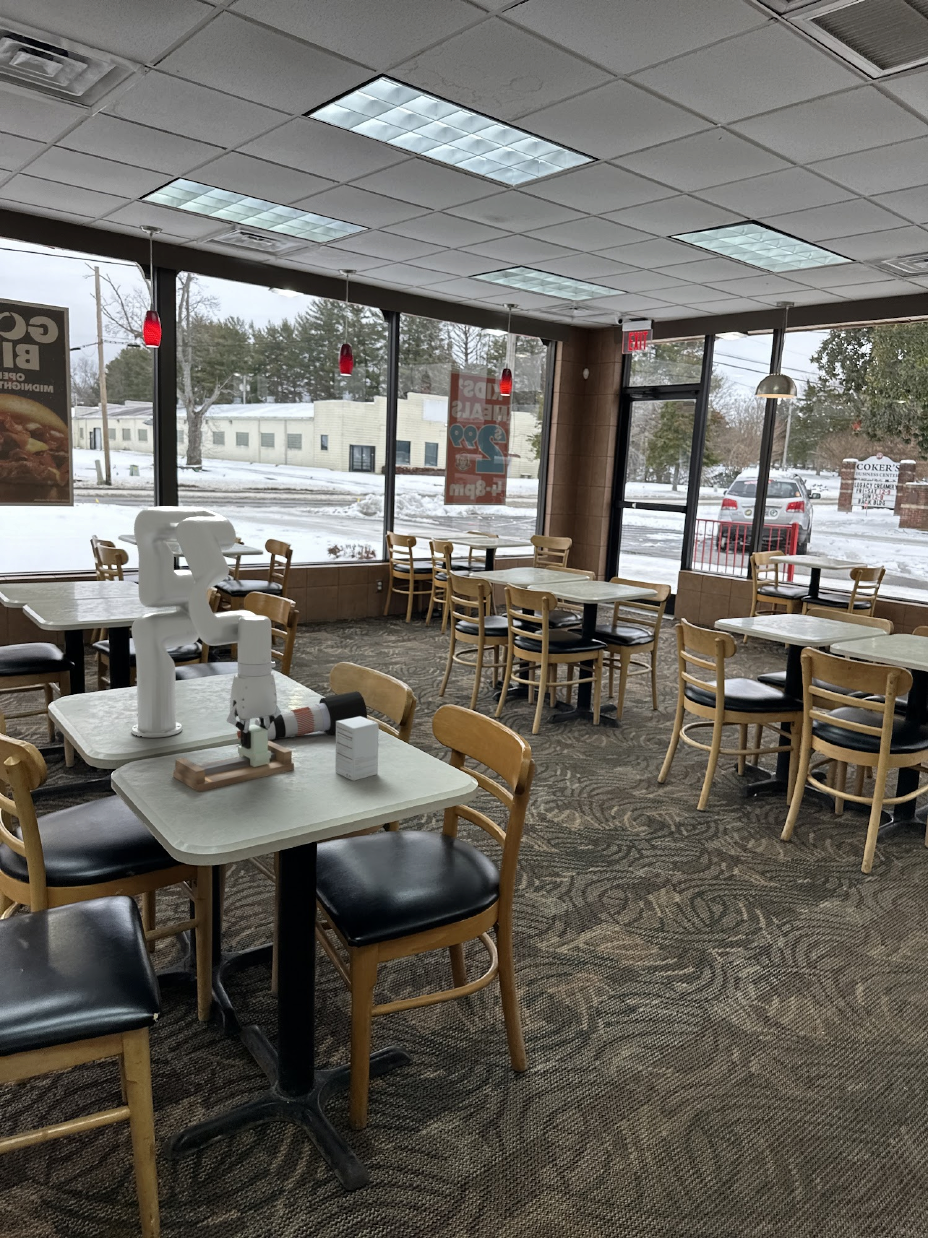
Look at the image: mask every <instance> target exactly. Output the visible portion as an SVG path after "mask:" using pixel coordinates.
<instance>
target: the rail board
mask: <svg viewBox="0 0 928 1238" xmlns="http://www.w3.org/2000/svg"><path fill="white" fill-rule="evenodd" d="M268 751H270V752H271V758H269V764H265V765H261V766H256V767H253V766H251V765H250V758H248V757H246V756H245V757H241V758H239V756H234V757H231V758H227V759H221V760H217V761H211V762H207V763H203V764H195V763H194V762H192V761H190V760H188V759H186V758H185V757H181V758H176V759H175V760H174V761H175V763H174V764H175V766H174V767H175V769H174V770H173V771H172V772H173V777H174V778H175V779H176V780H178V781H180V782H182V783H183V784H185V785H187V786H188V787H190V788H191V789H193V790H195V791H196V792H199V793H200V792H205V791H209V790H211V789H216V788H221V787H224V786H229V785H234V784H239V783H242V782H247V781H251V780H256V779H260V778H263V777H268V776H272V775H277V774H279V773H280V774H282V773H285V772H288V771H293V770H294V769H295V763H294V762H292V759H293V757H292V756H293V754H292V753H293V751H292V750H290V749H289V748H286V747H284V746H282V745H279V744H277V743H275V742H273V741H272V740H268Z"/></svg>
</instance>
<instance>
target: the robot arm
mask: <svg viewBox="0 0 928 1238" xmlns="http://www.w3.org/2000/svg"><path fill="white" fill-rule="evenodd" d="M133 525H134V526H133V533H134V539H135V542H136V547H137V552H138V598H139V601H140V604H141V605H142V606H143V607H145V608H148V609H163V608H174V607H175V610H171V611H159V612H151V613H146V614H141V615H140V616H138V617H137V618H136V619H135V620H134V621H133V623H132V625H131V636H132V641H133V645H134V650H135V651H134V652H135V660H136V662H135V663H136V693H137V694H136V695H137V696H136V698H137V700H136V701H137V702H136V703H137V706H136V707H137V714H136V716H137V724H135V725H133V726H132V727H131V733H132V735H134V736H136V735H137V736H136V737H140V736H142V737H141V738H149V739H150V738H152V739H153V738H154V739H155V738H163V737H164V738H165V737H171V736H175V735H177V734H179V733H181V732H182V730H183V725H182V724H181V723H180V722H178V721H177V717H176V716H177V714H176V713H177V705H176V703H177V701H176V699H177V697H176V696H177V695H176V694H177V692H176V691H177V690H176V687H177V686H176V685H177V684H176V664H175V661H174V659H173V658H172V657H171V655H170V654H169V652H168V650H167V649H170V648H179V647H184V646H190V645H193V644H194V643H196V642H197V641H198V640H199V638H200V640H201V641H202V642H203V643H205V645H207V646H222V645H230V644H237V674H235V675H234V676H233V680H232V683H231V689H230V699H229V715H228V717H227V718H226V722H227V723H228V724H230V725H233V726H234V727H235V728H237V729H238V731H241V739H240V746H241V745H242V747H244V748H246V749H250V748H251V732H249V725H251V720H253V719H259V723H260V726H259V727H262V728H264V729H266V730H268V729H269V728H270V724H271V723H272V722H273V721H274V719H275V718H276V717H277V716H279V715H280V714H281V713H282V711H281V710H280V707H279V706H278V697H277V687H276V680H275V676H274V673H272V669H273V668H276V665H277V664H276V662H275V661H272V620H271V619H270V618H269V617H268V616H266V615H259V614H258V615H257V614H255V613H254V612H252V611H250V610H244V609H241V610H240V609H239V610H228V611H218V612H213V610H212V607H211V605H210V603H209V600H208V596H207V594H208V593H207V591H208V590H210V589H211V588H213V587H215V586H217V585H219V584H220V583H221V582H223V581H224V580H225V579H226V578H227V577H228V575H229V574H230V567H229V565H228V563H227V561H226V558H225V556H224V554H223V551H228V550H231V549H232V548H233V547H234V546H235V544H236V539H237V533H236V530H235V528H234V525H233V524H232V522H231V521H230V520H229V519H228V518H227V517H225V516H223V515H222V514H221V515H220V514H219V513H216V512H213V511H212V510H209V509H206V508H203V507H197V506H153V507H146V508H145V509H143V510H141V511H139V512H138V514H137V515H136V518H135V520H134V524H133ZM167 541H169V542H170V541H172V542H173V541H175V542H178V544H179V545H178V546H179V548H180V549H181V552H182V555H183V557H184V559H185V561H186V564H187V566H188V569H189V570H187V569H175V568H174V567H175V566H174V565H175V558H174V557H175V555H174V552H173V550H172V548H171V547H170V545H169V543H168V542H167ZM237 717H238V720H237Z"/></svg>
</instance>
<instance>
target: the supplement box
mask: <svg viewBox="0 0 928 1238" xmlns="http://www.w3.org/2000/svg"><path fill="white" fill-rule="evenodd" d="M379 730H380V729H379V722H377V721H375V720H372V719H369V718H367V719H366V718H364V717H361V716H359V717H355V718H350V719H345V720H340V721H336V733H335V769H334V771H335V773H336V774H338V775H340V776H341V777H345V778H346V779H349V780H350V781H353V782H354V781H356V780H361V779H365V778H368V777H372V776H377V775H378V774H379V732H380V731H379Z"/></svg>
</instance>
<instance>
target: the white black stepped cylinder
mask: <svg viewBox="0 0 928 1238" xmlns="http://www.w3.org/2000/svg"><path fill="white" fill-rule="evenodd" d="M359 716H361V717H364V718H366V719H368V711H367V705H366V702H365V699H364V697H363V695H362V693H361V692H360V691H352V692H350V691H349V692H346V693H341V694H335V695H330V696H326V697H321V698H320V700H319V702H318V703H316V704H313V705H310V706H305V707H300V708H296V709H292V710H291V709H290V711H286V712H281V714H280V715H279V716H277V717H276V718H275V719H274V721H273V722H272V723H271V724H270V728H269V729H268V741H272V740H278V739H284V738H285V739H286V738H290V737H294V736H295V737H300V736H304V735H308V734H313V733H317V732H318V733H319V732H325V733H326V734H327V735H328V736H329V735H330V736H331V735H332V734H336V721H340V720H345V719H350V718H355V717H359ZM254 724H255V725H257V726H260V723H259V718H255V721H254ZM236 733H237V734H236V735H237V738H238V739H240V740H241V731H240V730H236Z"/></svg>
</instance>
